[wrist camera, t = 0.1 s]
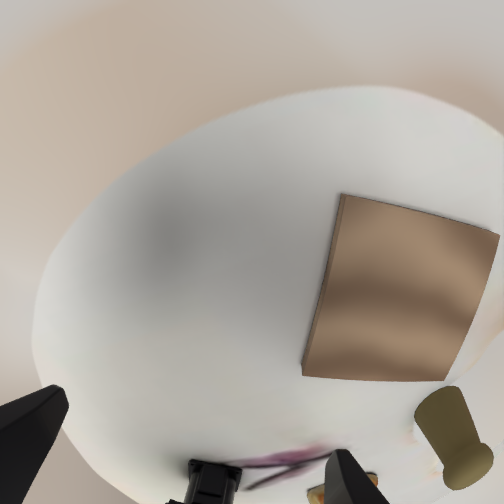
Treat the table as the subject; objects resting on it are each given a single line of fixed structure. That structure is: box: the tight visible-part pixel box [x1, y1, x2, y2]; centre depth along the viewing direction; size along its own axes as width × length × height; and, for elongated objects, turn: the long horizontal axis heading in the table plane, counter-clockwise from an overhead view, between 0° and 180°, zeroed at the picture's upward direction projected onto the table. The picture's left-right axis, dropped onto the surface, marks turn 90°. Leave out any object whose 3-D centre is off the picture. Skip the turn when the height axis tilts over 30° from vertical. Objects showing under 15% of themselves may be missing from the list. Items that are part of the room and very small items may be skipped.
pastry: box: [307, 474, 378, 504], centre depth 28 cm, size 9×7×4 cm
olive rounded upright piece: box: [414, 386, 494, 490], centre depth 19 cm, size 6×6×11 cm
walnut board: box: [301, 194, 500, 382], centre depth 20 cm, size 14×14×2 cm
